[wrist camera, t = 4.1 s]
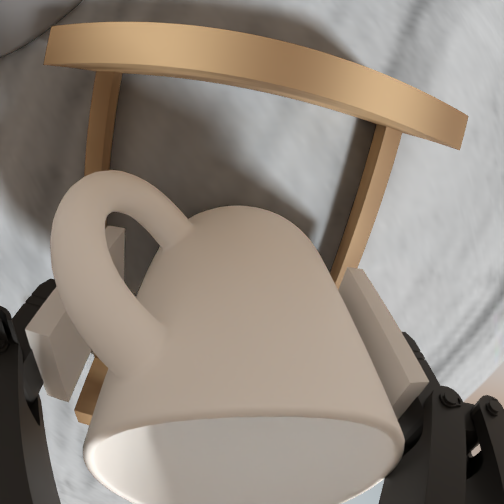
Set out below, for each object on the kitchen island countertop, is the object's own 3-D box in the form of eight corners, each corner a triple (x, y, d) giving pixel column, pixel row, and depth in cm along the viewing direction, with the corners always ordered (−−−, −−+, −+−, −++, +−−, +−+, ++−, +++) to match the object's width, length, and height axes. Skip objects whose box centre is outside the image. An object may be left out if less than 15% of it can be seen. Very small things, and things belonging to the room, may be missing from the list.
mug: (72, 201, 13) (-77, 348, 4) (216, 89, 11) (158, 47, 2) (217, 363, 18) (215, 531, 9) (345, 298, 16) (423, 472, 7)
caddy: (101, 359, 18) (78, 422, 13) (110, 46, 10) (51, 26, 6) (295, 386, 19) (308, 450, 15) (397, 105, 12) (468, 116, 7)
